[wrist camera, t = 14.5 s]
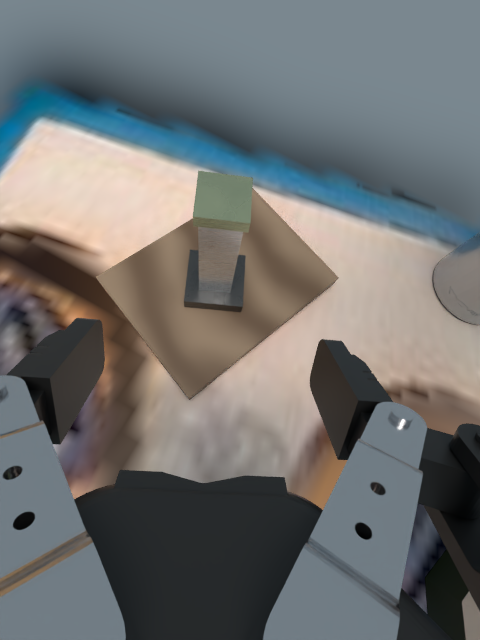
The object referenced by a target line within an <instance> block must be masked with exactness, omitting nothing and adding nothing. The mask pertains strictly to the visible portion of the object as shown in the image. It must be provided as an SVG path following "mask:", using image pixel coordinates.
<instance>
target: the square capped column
mask: <svg viewBox="0 0 480 640" xmlns="http://www.w3.org/2000/svg"><path fill="white" fill-rule="evenodd" d="M252 184H253V178H250V177H242V176H234V175H227V174H219V173H211V172H204V171H198V179H197V188H196V196H195V204H194V212H193V226H195V227H198V241H199V250H190V254H189V262H188V270H187V278H186V287H185V295H184V307H189V308H200V309H211V310H222V311H233V312H241V311H242V308H243V295H244V277H245V258H246V256H245V255H238V254H239V249H240V245H241V240H242V235H243V232H247V233H248V232H249V227H250V223H251V204H252Z"/></svg>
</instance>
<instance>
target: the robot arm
mask: <svg viewBox="0 0 480 640" xmlns="http://www.w3.org/2000/svg"><path fill="white" fill-rule="evenodd" d="M433 282H434V288H435V291H436V293H437V296H438V297H439V299H440V301H441V302H442V304H443V305H444V306H445V307H446V308H447V309H448V310H449V311H450V312H451V313H452V314H453V315H455V316H456V317H458V318H459V319H461V320H463V321H465V322H468V323H471V324H477V325H480V232H479V233H478V234H476V235H475V236H474V237H472V238H471V239H469V240H468V241H466V242H465V243H464V244H462V245H461V246H459V247H458V248H457V249H455V250H454V251H452V252H451V253H450V254H448V255H447V256H445V257H444V258H443V259H442V260H441V261H439V263H438V264H437V266H436V267H435V271H434V276H433ZM104 361H105V356H104V342H103V328H102V322H101V321H100V320H96V319H85V318H76V319H75V320H74V321H73V322H72V323H71V324H70V325H69V326H68V327H67V329H66V330H65V331H64V330H59V331H57V332H55V333H53V334H51V335H49V336H47V337H45V338H44V339H43V340H42V341H41V342H40V343H39V344H38V345H37V347H35V348H34V349H33V350H32V351H31V352H30V354H28V355H26V356H25V357H24V358H23V359H22V360H21V361H20V362H19V363H18V364H17V365H16V366H15V367H14V368H13V369H12V370H11V371H10V372H9V373H8V374H7V375H6V376H0V640H452V639H451V638H450V637H449V636H448V635H447V634H446V633H445V632H444V631H443V630H442V629H441V628H440V627H439V626H438V625H437V624H436V623H435V622H434V621H433V620H432V619H431V618H430V617H429V616H428V615H427V614H426V613H425V612H424V611H423V610H422V609H421V608H420V607H419V606H418V605H417V604H416V603H415V602H414V600H413V599H412V598H411V597H410V596H409V595H408V594H407V593H406V592H405V591H404V590H403V589H402V588H401V586H402V581H403V576H404V571H405V565H406V560H407V555H408V550H409V545H410V539H411V534H412V529H413V524H414V519H415V514H416V508H417V503H419V504H422V505H424V507H425V509H426V511H427V512H428V514H429V516H430V518H431V520H432V522H433V524H434V526H435V528H436V529H437V531H438V533H439V535H440V537H441V539H442V541H443V543H444V545H445V547H446V548H447V550H448V552H449V554H450V556H451V558H452V560H453V562H454V564H455V565H456V567H457V569H458V571H459V573H460V575H461V577H462V579H463V581H464V583H465V584H466V586H467V588H468V590H469V592H470V594H471V596H472V598H473V600H474V601H475V603H476V605H477V607H478V609H479V611H480V426H479V425H474V424H462V425H460V426H459V427H458V429H457V431H456V432H455V434H454V436H453V435H450V434H446V433H443V432H439V431H436V430H432V429H429V428H427V425H426V423H425V421H424V420H423V418H422V417H421V416H420V415H419V414H417V413H416V412H415V411H413V410H412V409H410V408H408V407H406V406H404V405H401V404H398V403H394V402H393V401H392V400H391V398H390V397H389V396H388V394H387V393H386V391H385V390H384V389H383V387H382V386H381V384H380V383H379V382H378V381H377V379H376V377H375V376H374V375H373V374H372V373H371V370H370V369H369V367H368V366H367V365H366V363H365V362H363V361H362V360H361V359H359V358H358V357H357V356H355V355H351V354H350V352H349V351H348V349H347V348H346V346H345V345H344V343H343V342H342V341H335V340H324V339H322V340H320V342H319V344H318V347H317V351H316V355H315V359H314V363H313V367H312V371H311V375H310V388H311V391H312V394H313V397H314V399H315V402H316V404H317V407H318V409H319V412H320V415H321V417H322V420H323V422H324V425H325V428H326V430H327V433H328V435H329V438H330V441H331V443H332V446H333V448H334V451H335V453H336V456H337V459H338V460H348V461H347V463H346V465H345V467H344V469H343V471H342V473H341V475H340V477H339V479H338V481H337V483H336V485H335V487H334V489H333V491H332V493H331V495H330V497H329V499H328V501H327V503H326V505H325V507H324V509H323V510H322V509H321V508H319V507H318V506H316V505H315V504H313V503H312V502H310V501H308V500H307V499H305V498H303V497H301V496H298V495H296V494H294V493H291V492H288V491H287V489H286V483H285V478H284V477H263V476H241V477H236V478H231V479H226V480H221V481H215V482H210V483H199V482H195V481H192V480H188V479H185V478H181V477H178V476H174V475H171V474H167V473H164V472H152V471H129V470H120V471H119V474H118V477H117V480H116V483H115V484H113V485H109V486H105V487H102V488H98V489H96V490H93V491H91V492H88V493H86V494H84V495H82V496H80V497H78V498H76V499H73V496H72V493H71V491H70V488H69V486H68V483H67V480H66V478H65V475H64V473H63V470H62V467H61V465H60V462H59V460H58V457H57V454H56V452H55V449H54V447H53V444H61V442H62V441H63V439H64V437H65V436H66V434H67V432H68V430H69V429H70V427H71V425H72V424H73V422H74V420H75V419H76V417H77V415H78V413H79V412H80V410H81V408H82V407H83V405H84V403H85V402H86V400H87V398H88V396H89V395H90V393H91V391H92V390H93V388H94V386H95V384H96V383H97V381H98V379H99V378H100V376H101V374H102V371H103V368H104Z"/></svg>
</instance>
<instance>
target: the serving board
mask: <svg viewBox="0 0 480 640" xmlns="http://www.w3.org/2000/svg"><path fill="white" fill-rule="evenodd" d="M190 250H199V241H198V227H195V226H193V219H191V220H190V221H188V222H186V223H185V224H183V225H181V226H180V227H178V228H176V229H175V230H173V231H171V232H170V233H168V234H166V235H165V236H163V237H161V238H160V239H158V240H156V241H155V242H153V243H151V244H150V245H148V246H147V247H145V248H143V249H142V250H140V251H138V252H137V253H135V254H133V255H132V256H130V257H128V258H127V259H125V260H123V261H122V262H120V263H118V264H117V265H115V266H113V267H112V268H110V269H108V270H107V271H105V272H103V273H102V274H100V275H98V276H97V277H96V278H97V280H98V281H99V282H100V284H101V285H102V287H103V288H104V289H105V291H106V292H107V293H108V294H109V296H110V297H111V298H112V300H113V301H114V302H115V304H116V305H117V306H118V307H119V309H120V310H121V311H122V313H123V314H124V315H125V317H126V318H127V319H128V320H129V322H130V323H131V324H132V326H133V327H134V328H135V330H136V331H137V332H138V333H139V335H140V336H141V337H142V339H143V340H144V341H145V343H146V344H147V345H148V346H149V348H150V349H151V350H152V352H153V353H154V354H155V356H156V357H157V358H158V359H159V361H160V362H161V363H162V365H163V366H164V367H165V369H166V370H167V371H168V372H169V374H170V375H171V376H172V378H173V379H174V380H175V382H176V383H177V384H178V385H179V387H180V388H181V389H182V391H183V392H184V393H185V395H186V396H187V397H188V398H189V400H190V399H191V398H192V397H194V396H195V395H196V394H197V393H198V392H200V391H201V390H202V389H203V388H205V387H206V386H207V385H208V384H210V383H211V382H212V381H213V380H215V379H216V378H217V377H218V376H220V375H221V374H222V373H223V372H225V371H226V370H227V369H228V368H230V367H231V366H232V365H233V364H234V363H236V362H237V361H238V360H239V359H241V358H242V357H243V356H244V355H246V354H247V353H248V352H249V351H251V350H252V349H253V348H254V347H256V346H257V345H258V344H259V343H261V342H262V341H263V340H264V339H266V338H267V337H268V336H269V335H270V334H272V333H273V332H274V331H275V330H277V329H278V328H279V327H280V326H282V325H283V324H284V323H285V322H287V321H288V320H289V319H290V318H292V317H293V316H294V315H295V314H297V313H298V312H299V311H300V310H301V309H303V308H304V307H305V306H306V305H308V304H309V303H310V302H311V301H313V300H314V299H315V298H316V297H318V296H319V295H320V294H321V293H323V292H324V291H325V290H326V289H328V288H329V287H330V286H331V285H333V284H334V283H335V281H336V280H337V279H338V277H337V276H336V275H335V273H334V272H333V271H332V270H331V269H330V268H329V267H328V266H327V265H326V264H325V263H324V262H323V261H322V260H321V259H320V258H319V257H318V256H317V255H316V254H315V253H314V252H313V251H312V250H311V248H310V247H309V246H308V245H307V244H306V243H305V242H304V241H303V240H302V239H301V238H300V237H299V236H298V235H297V234H296V233H295V232H294V231H293V230H292V229H291V228H290V227H289V226H288V225H287V223H286V222H285V221H284V220H283V219H282V218H281V217H280V216H279V215H278V214H277V213H276V212H275V211H274V210H273V209H272V208H271V207H270V206H269V205H268V204H267V203H266V202H265V201H264V200H263V198H262V197H261V196H260V195H259V194H258V193H257V192H256V191H255V190H254V189H253V188H252V204H251V223H250V227H249V232H248V233H247V232H243V235H242V240H241V245H240V249H239V254H238V255H245V256H246V258H245V277H244V295H243V308H242V311H241V312H233V311H222V310H211V309H200V308H189V307H184V295H185V287H186V278H187V270H188V262H189V254H190Z"/></svg>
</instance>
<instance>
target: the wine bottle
mask: <svg viewBox="0 0 480 640" xmlns="http://www.w3.org/2000/svg"><path fill="white" fill-rule="evenodd" d="M425 584H426V597H427V610H428V616H429V617H430V618H431V619H432V620H433V621H434V622H435V623H436V624H437V625H438V626H439V627H440V628H441V629H442V630H443V631H444V632H445V633H446V634H447V635H448V636H449V637H450V638H451V639H452V640H480V611H479V609H478V607H477V605H476V603H475V601H474V600H473V598H472V596H471V594H470V592H469V590H468V588H467V586H466V584H465V583H464V581H463V579H462V577H461V575H460V573H459V571H458V569H457V567H456V565H455V564H454V562H453V560H452V558H451V556H450V554H449V552H448V550H447V549H446V551H445V552H444V553H443V555H442V556H441V557H440V559H439V560H438V561H437V563H436V564H435V565H434V567H433V568H432V569H431V571H430V572H429V573H428V575H427V576H426V577H425Z"/></svg>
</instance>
